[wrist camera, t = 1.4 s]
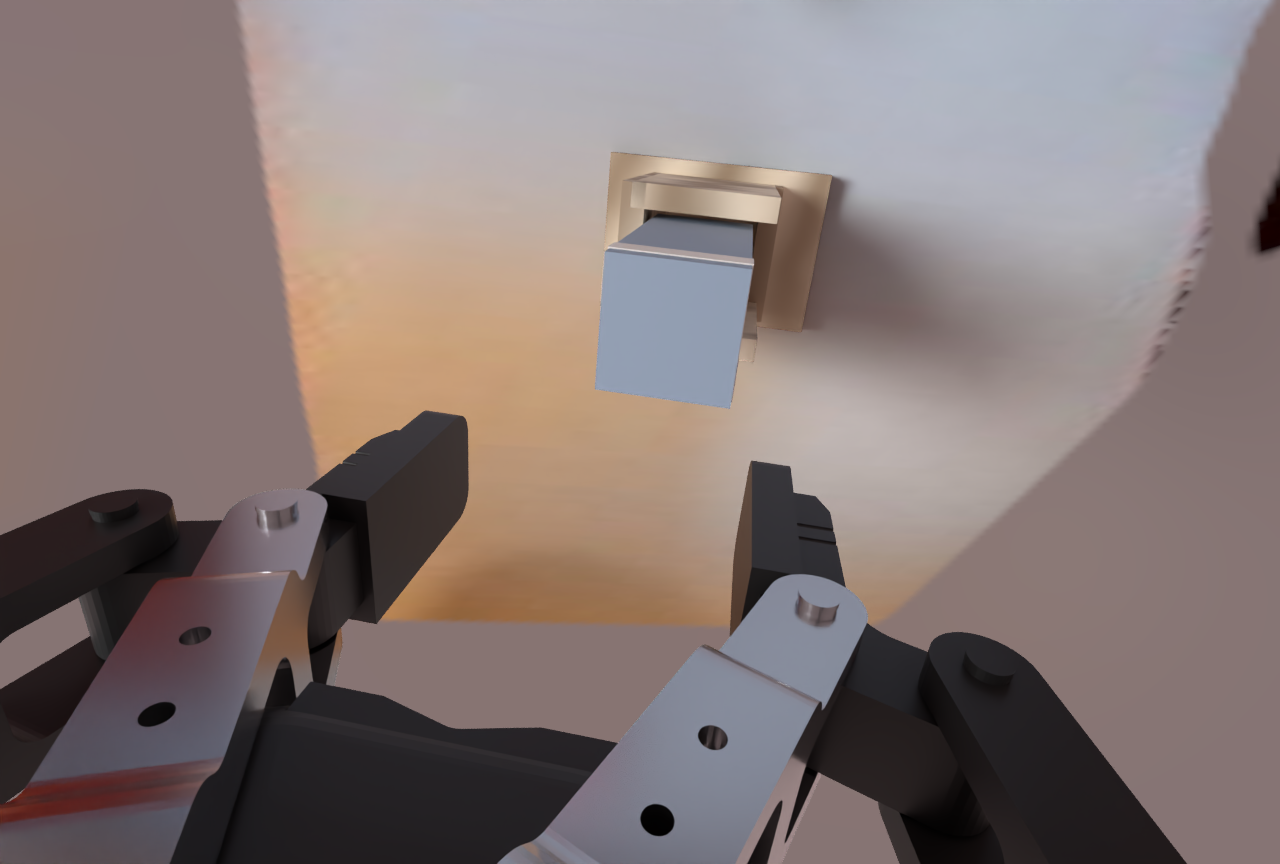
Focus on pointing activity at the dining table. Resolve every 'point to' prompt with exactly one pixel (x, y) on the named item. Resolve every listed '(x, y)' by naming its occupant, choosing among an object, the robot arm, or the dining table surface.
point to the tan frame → (732, 193)
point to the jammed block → (675, 310)
